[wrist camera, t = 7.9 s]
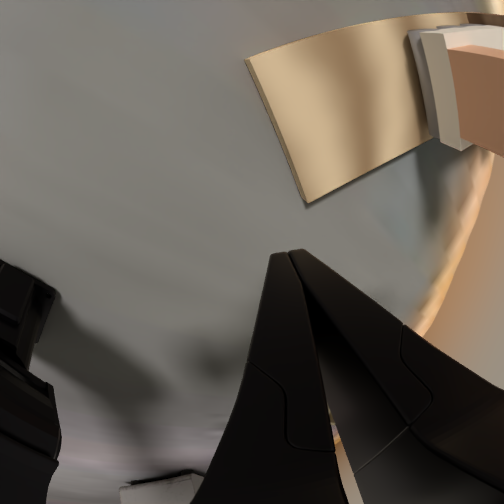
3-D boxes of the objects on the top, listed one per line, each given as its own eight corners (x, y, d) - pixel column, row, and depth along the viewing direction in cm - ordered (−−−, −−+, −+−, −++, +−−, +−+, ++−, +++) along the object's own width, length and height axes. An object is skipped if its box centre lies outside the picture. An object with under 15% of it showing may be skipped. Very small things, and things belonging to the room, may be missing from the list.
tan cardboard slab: (301, 197, 20) (353, 246, 15) (244, 59, 14) (291, 52, 9) (485, 105, 21) (536, 124, 15) (469, 12, 15) (525, 18, 9)
